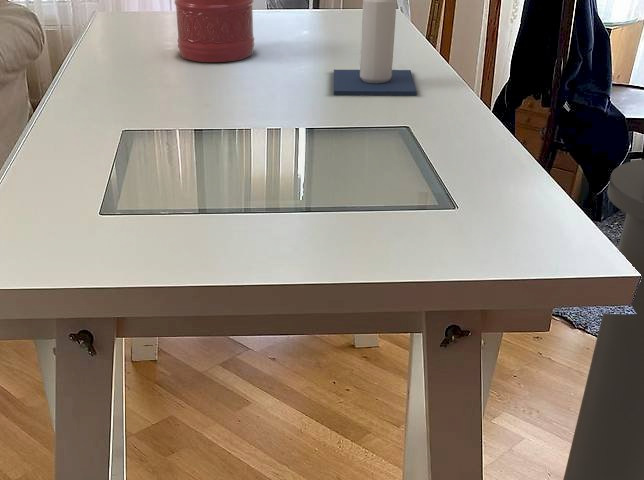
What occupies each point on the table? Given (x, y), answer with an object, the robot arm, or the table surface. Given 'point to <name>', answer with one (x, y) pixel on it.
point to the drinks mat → (373, 84)
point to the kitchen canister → (215, 29)
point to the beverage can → (377, 40)
